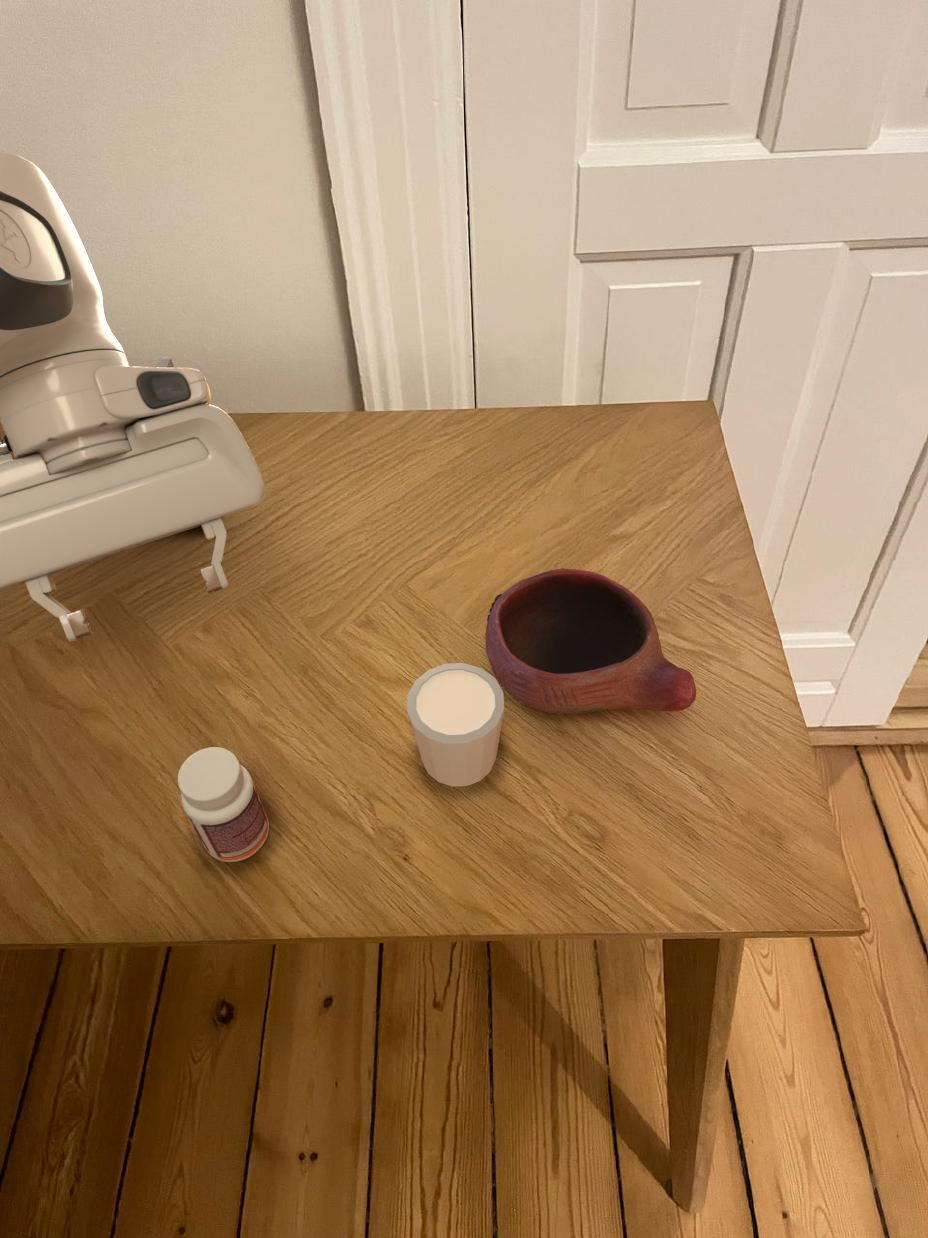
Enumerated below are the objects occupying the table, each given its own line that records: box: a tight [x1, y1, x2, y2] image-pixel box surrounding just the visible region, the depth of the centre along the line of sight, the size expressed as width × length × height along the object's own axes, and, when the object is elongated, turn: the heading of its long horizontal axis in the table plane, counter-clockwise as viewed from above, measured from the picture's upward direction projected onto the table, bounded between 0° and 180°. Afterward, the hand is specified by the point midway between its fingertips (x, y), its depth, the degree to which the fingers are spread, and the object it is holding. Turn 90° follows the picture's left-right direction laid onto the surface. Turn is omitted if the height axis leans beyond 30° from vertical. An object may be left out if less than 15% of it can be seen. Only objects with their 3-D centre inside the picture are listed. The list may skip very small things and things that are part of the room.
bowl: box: [485, 568, 697, 715], centre depth 72 cm, size 16×13×8 cm
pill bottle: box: [177, 746, 270, 863], centre depth 64 cm, size 5×5×8 cm
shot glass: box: [406, 662, 505, 788], centre depth 68 cm, size 7×7×7 cm
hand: (151, 613), depth 64 cm, fingers open, 8 cm apart
